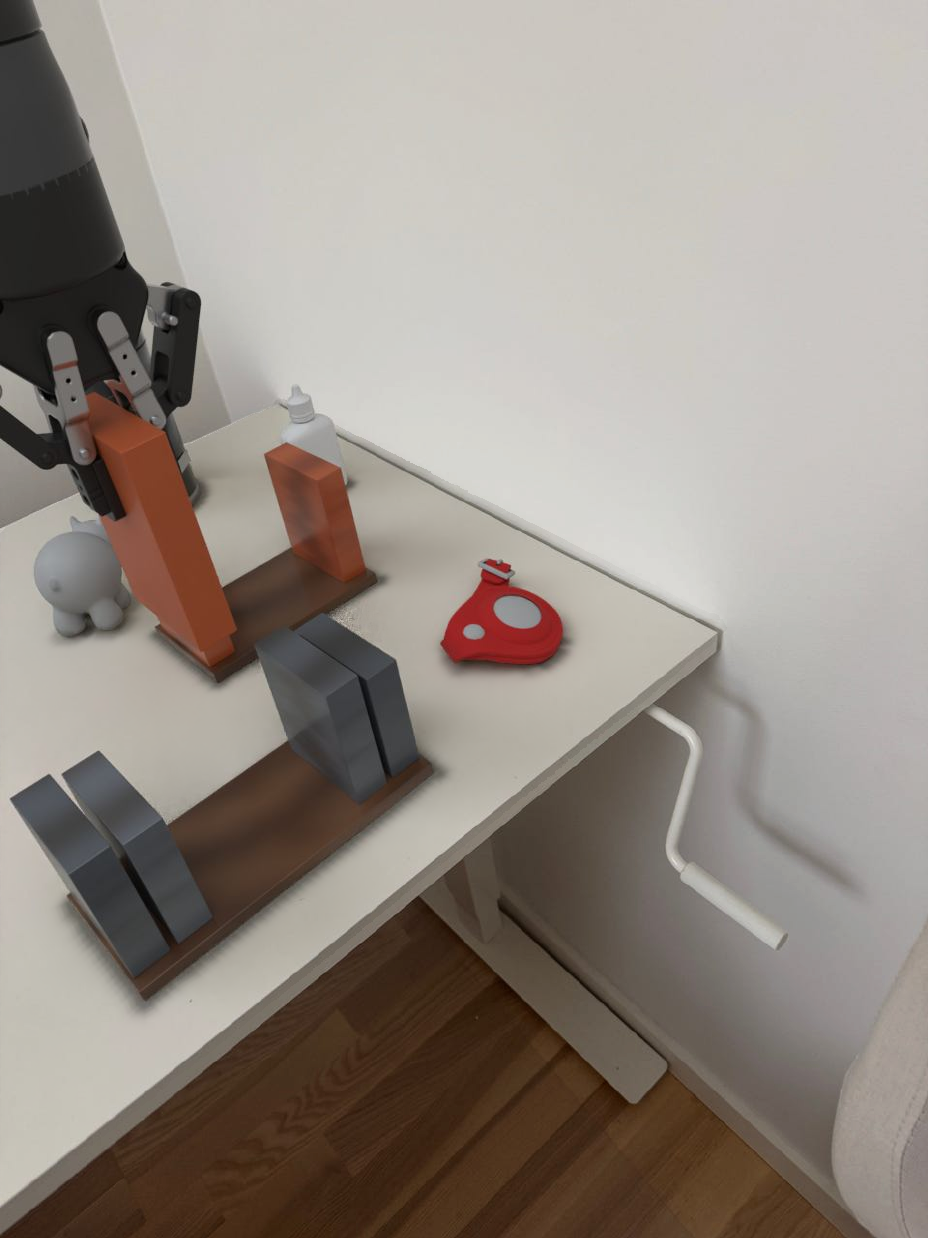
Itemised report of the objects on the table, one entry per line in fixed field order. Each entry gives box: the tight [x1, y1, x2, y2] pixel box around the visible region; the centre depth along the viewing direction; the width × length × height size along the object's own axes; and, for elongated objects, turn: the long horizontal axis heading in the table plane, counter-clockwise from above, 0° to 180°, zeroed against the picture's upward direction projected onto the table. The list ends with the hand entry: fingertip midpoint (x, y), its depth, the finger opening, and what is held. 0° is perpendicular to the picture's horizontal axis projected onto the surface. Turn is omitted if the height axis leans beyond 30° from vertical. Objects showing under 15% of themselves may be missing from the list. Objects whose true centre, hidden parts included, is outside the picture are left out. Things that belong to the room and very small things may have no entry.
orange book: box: [86, 392, 237, 652], centre depth 53 cm, size 8×2×13 cm, turn 43°
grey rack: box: [9, 613, 434, 1002], centre depth 61 cm, size 10×23×11 cm, turn 133°
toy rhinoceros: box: [33, 515, 132, 637], centre depth 86 cm, size 7×12×8 cm, turn 179°
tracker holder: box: [440, 557, 564, 665], centre depth 77 cm, size 12×4×10 cm
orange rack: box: [154, 442, 378, 684], centre depth 81 cm, size 10×17×12 cm, turn 133°
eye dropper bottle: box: [279, 383, 348, 487], centre depth 96 cm, size 4×6×12 cm
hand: (138, 500), depth 52 cm, fingers closed on orange book, 2 cm apart
